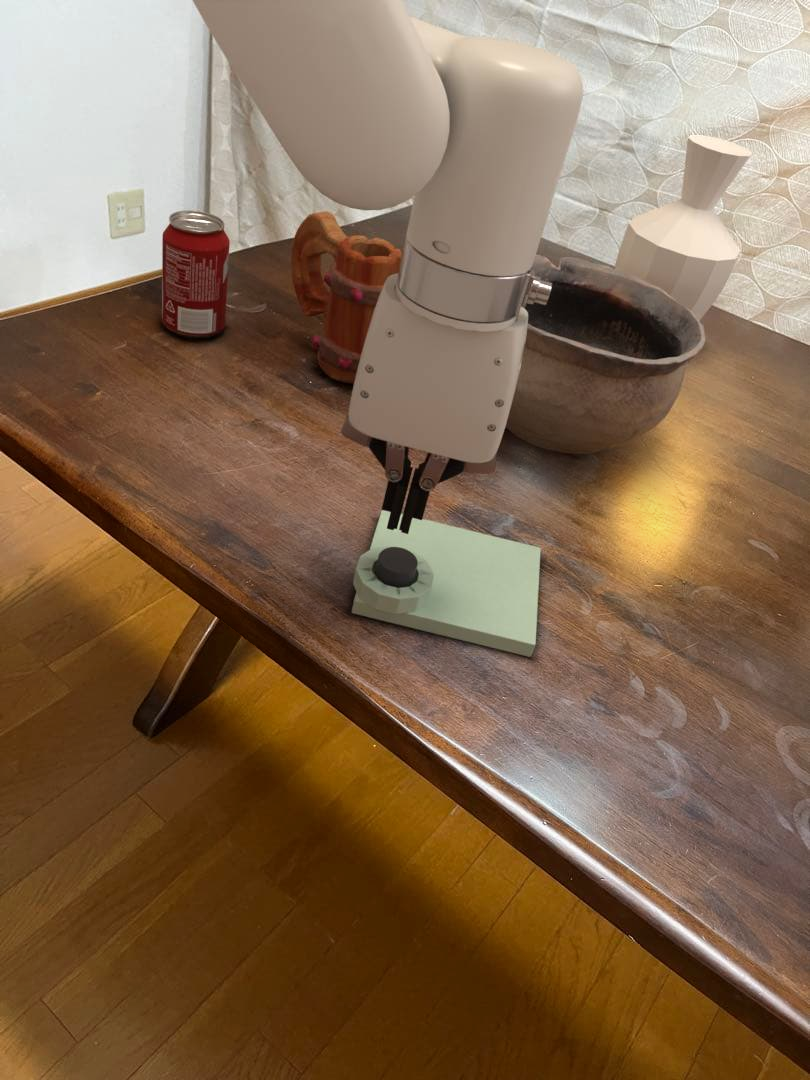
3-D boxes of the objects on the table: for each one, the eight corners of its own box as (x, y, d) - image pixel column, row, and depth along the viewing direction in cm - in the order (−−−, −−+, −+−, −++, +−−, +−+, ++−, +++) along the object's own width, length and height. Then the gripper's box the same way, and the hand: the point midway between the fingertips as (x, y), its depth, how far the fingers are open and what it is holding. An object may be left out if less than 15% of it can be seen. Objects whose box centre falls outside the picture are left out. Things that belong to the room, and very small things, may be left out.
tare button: (371, 582, 65) (375, 567, 64) (379, 558, 67) (382, 542, 66) (410, 592, 65) (414, 577, 64) (416, 567, 67) (420, 552, 66)
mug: (406, 383, 95) (433, 250, 85) (353, 402, 89) (376, 262, 80) (316, 327, 101) (332, 197, 92) (262, 342, 96) (274, 206, 87)
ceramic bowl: (538, 362, 105) (576, 241, 95) (689, 451, 94) (748, 326, 85) (411, 406, 91) (440, 270, 82) (572, 517, 81) (627, 376, 71)
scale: (344, 615, 65) (349, 586, 63) (374, 519, 75) (380, 492, 73) (530, 661, 65) (541, 634, 63) (536, 559, 75) (546, 533, 73)
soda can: (218, 347, 93) (224, 238, 86) (155, 336, 92) (155, 225, 85) (229, 320, 98) (235, 215, 91) (169, 309, 98) (170, 203, 90)
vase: (660, 316, 124) (733, 132, 108) (716, 366, 114) (805, 171, 98) (575, 313, 119) (638, 120, 103) (625, 365, 109) (704, 160, 93)
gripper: (583, 288, 54) (503, 516, 65) (352, 228, 54) (312, 466, 65) (584, 338, 48) (496, 579, 59) (325, 269, 48) (286, 524, 59)
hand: (400, 519), depth 62 cm, fingers closed
